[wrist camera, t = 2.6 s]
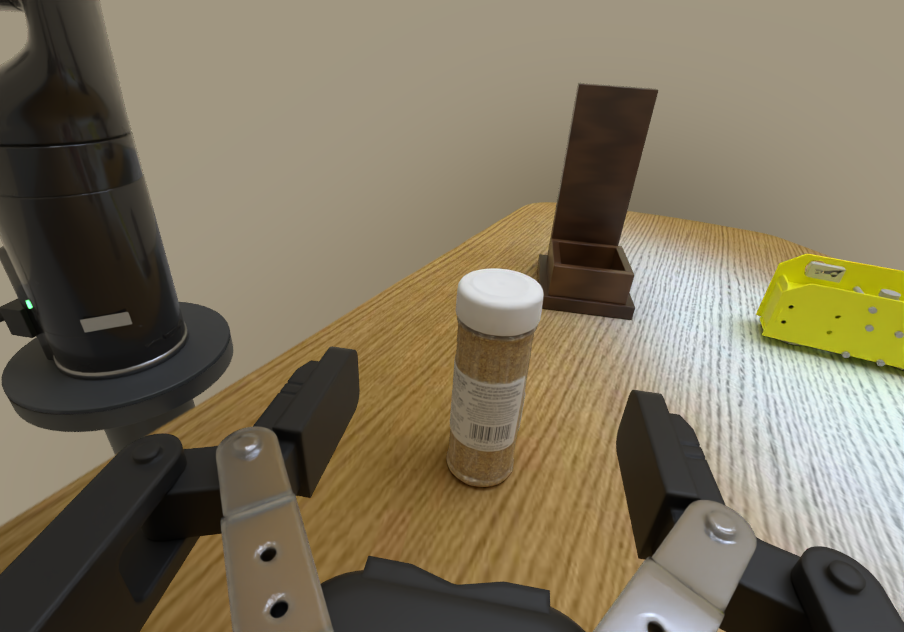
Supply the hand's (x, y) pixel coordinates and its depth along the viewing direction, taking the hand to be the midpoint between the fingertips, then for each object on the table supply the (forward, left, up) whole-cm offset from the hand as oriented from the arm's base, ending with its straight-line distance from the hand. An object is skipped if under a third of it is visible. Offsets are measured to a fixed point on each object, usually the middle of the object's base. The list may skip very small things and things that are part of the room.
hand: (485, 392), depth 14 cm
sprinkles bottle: (0, +11, -15) cm, 19 cm away
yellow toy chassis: (+35, +33, -15) cm, 51 cm away
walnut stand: (+9, +40, -15) cm, 44 cm away
